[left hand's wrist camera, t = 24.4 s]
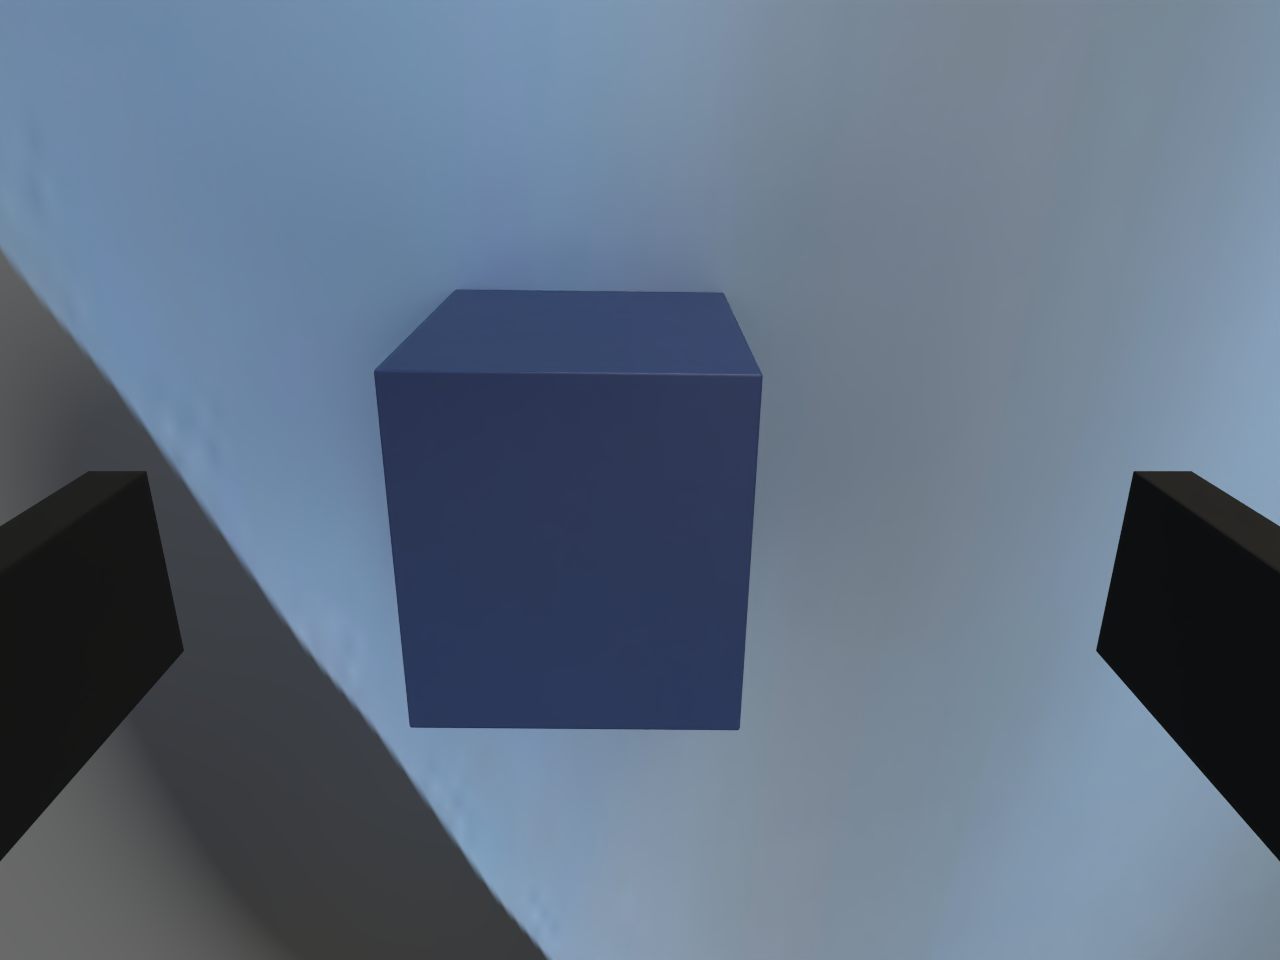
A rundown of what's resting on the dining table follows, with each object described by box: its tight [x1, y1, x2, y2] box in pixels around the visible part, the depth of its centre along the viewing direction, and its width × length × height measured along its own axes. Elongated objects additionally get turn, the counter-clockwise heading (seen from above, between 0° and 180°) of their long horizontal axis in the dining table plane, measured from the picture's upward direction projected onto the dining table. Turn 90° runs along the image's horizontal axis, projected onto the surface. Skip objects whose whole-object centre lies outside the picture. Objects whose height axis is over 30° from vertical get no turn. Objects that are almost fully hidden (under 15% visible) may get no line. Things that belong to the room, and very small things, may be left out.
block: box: [374, 290, 762, 730], centre depth 25 cm, size 9×8×9 cm
